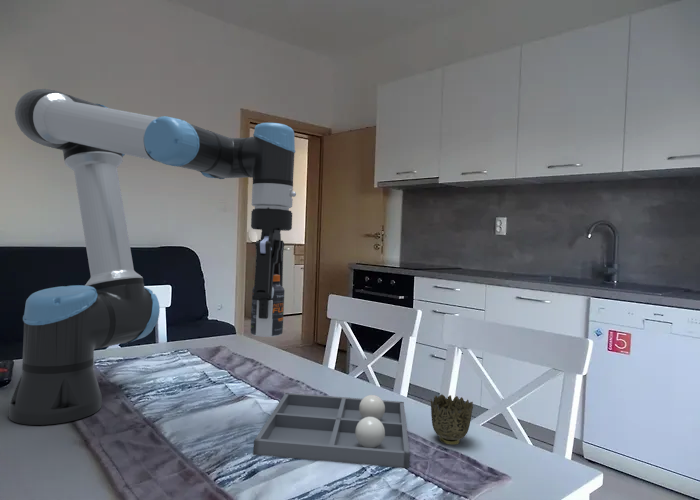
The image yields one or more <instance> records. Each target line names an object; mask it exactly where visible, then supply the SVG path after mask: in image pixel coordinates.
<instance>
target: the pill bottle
mask: <svg viewBox="0 0 700 500" xmlns="http://www.w3.org/2000/svg"><path fill="white" fill-rule="evenodd" d="M251 295H252V296H254V286H253V287H252V293H251ZM252 296H251V297H252ZM271 296H272V298H271V300H273V310H272V336H271V337H279V336H282V334H283V330H284V329H283V328H284V314H285V313H284V310H285V288H284V286H281V285H280V275H278V274H274V275H273V285H272V295H271ZM250 311H251V312H250V334H251V335H253V336H255V337H257V336H256V315H257V300H253V299H252V298H251V310H250ZM261 337H263V336H261ZM271 337H270V338H271Z"/></svg>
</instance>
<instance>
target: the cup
mask: <svg viewBox="0 0 700 500" xmlns="http://www.w3.org/2000/svg"><path fill="white" fill-rule="evenodd" d="M473 403H474V402H473V401H469V399H467V400H464V398H463V397H459V396H456V395H455V396H454V398H453V399H452V395H451V394H450V395H448V396H447V397H446V396H445V395H444V394H443V393H442V394H440V395H438V396H437V395H436V394H435V395H434V396H433V400H432V398H430V410H431V411H430V413H431V414H430V415H431V424H432V427H433V431H434V432H435V434H436V435H437V436H438V437H439V438H438V440H439V441H440V442H441V443H443V444H446V445H451V446H452V445H459V444H460V443H461V439H463V438H465V437H466V436H467V434H468V432H469V429H470V426H471V419H472V413H473V408H474V404H473Z"/></svg>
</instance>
